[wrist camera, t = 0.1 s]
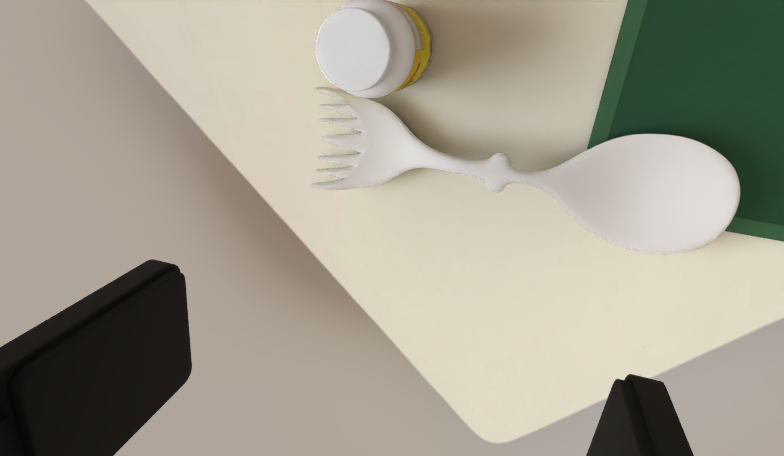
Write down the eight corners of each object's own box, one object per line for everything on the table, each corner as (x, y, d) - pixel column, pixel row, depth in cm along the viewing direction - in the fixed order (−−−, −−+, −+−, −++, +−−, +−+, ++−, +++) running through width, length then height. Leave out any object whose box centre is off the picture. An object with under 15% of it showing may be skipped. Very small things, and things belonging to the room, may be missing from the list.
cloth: (652, -87, 31) (653, -88, 30) (945, -68, 27) (950, -69, 27) (572, 202, 38) (572, 203, 38) (793, 241, 35) (795, 243, 35)
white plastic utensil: (328, 80, 40) (310, 83, 37) (748, 143, 33) (770, 154, 30) (322, 181, 44) (306, 192, 40) (701, 256, 37) (716, 276, 34)
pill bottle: (379, 100, 39) (330, 121, 30) (347, 28, 38) (284, 24, 28) (447, 68, 37) (419, 78, 27) (415, -11, 36) (374, -30, 26)
